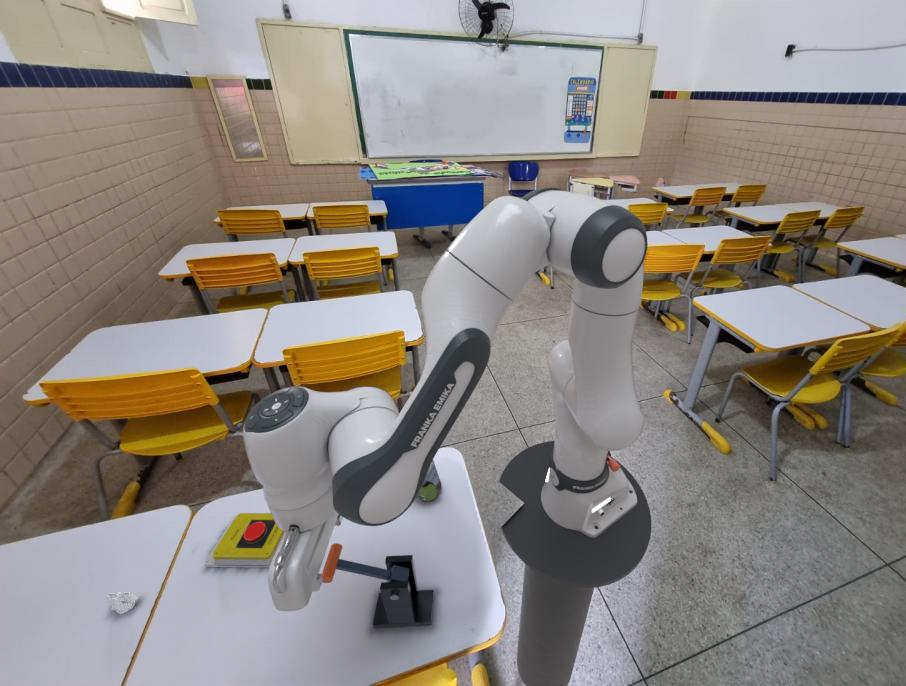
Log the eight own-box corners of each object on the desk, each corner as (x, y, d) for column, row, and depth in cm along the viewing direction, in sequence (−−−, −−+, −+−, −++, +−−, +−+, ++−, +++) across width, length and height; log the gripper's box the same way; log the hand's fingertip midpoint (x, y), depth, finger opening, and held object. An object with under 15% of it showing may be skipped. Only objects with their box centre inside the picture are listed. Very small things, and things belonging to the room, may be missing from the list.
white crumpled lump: (143, 601, 68) (133, 590, 67) (135, 613, 67) (125, 602, 65) (114, 602, 68) (104, 591, 66) (105, 614, 67) (94, 604, 65)
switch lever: (318, 582, 58) (322, 575, 57) (329, 549, 62) (333, 541, 61) (400, 599, 61) (406, 592, 60) (405, 566, 66) (410, 559, 65)
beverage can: (447, 491, 89) (444, 455, 83) (421, 512, 84) (416, 476, 78) (430, 474, 93) (426, 440, 87) (405, 494, 88) (399, 459, 82)
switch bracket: (372, 632, 65) (360, 593, 59) (380, 592, 70) (370, 553, 64) (431, 628, 66) (425, 590, 59) (434, 589, 71) (429, 550, 65)
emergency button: (275, 554, 72) (195, 554, 71) (281, 567, 74) (203, 567, 74) (297, 508, 80) (226, 508, 80) (302, 521, 82) (232, 520, 82)
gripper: (299, 576, 43) (324, 633, 49) (352, 436, 60) (364, 492, 67) (241, 578, 42) (274, 636, 49) (311, 437, 60) (328, 493, 67)
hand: (327, 551), depth 58 cm, fingers open, 8 cm apart
